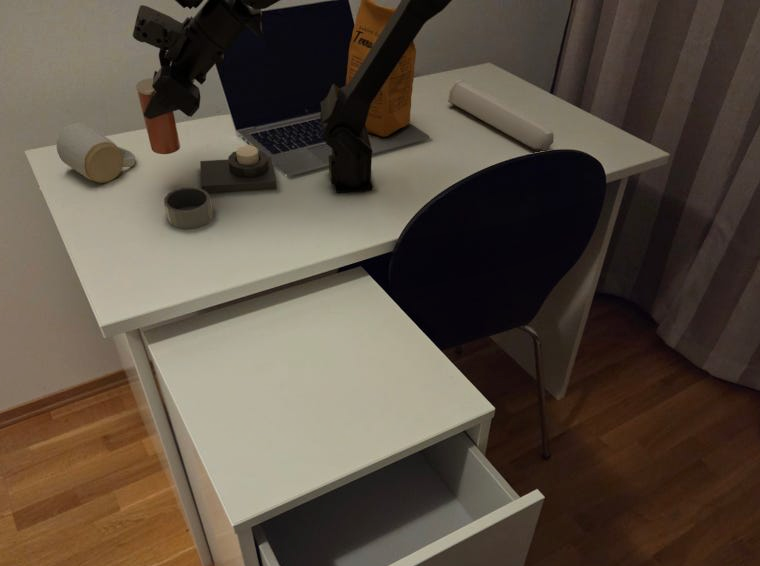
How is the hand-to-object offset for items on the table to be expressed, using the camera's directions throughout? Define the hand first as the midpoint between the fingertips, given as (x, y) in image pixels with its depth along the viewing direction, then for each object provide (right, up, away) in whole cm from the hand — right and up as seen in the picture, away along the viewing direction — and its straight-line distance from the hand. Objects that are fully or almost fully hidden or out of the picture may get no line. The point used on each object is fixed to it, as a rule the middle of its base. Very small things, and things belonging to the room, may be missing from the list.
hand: (147, 109), depth 96 cm
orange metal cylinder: (+1, -4, +5) cm, 6 cm away
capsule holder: (+5, -15, +5) cm, 17 cm away
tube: (+58, +9, +32) cm, 67 cm away
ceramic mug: (-12, -6, +12) cm, 18 cm away
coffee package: (+34, +9, +30) cm, 46 cm away
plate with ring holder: (+10, -7, +13) cm, 18 cm away
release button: (+12, -4, +12) cm, 17 cm away
